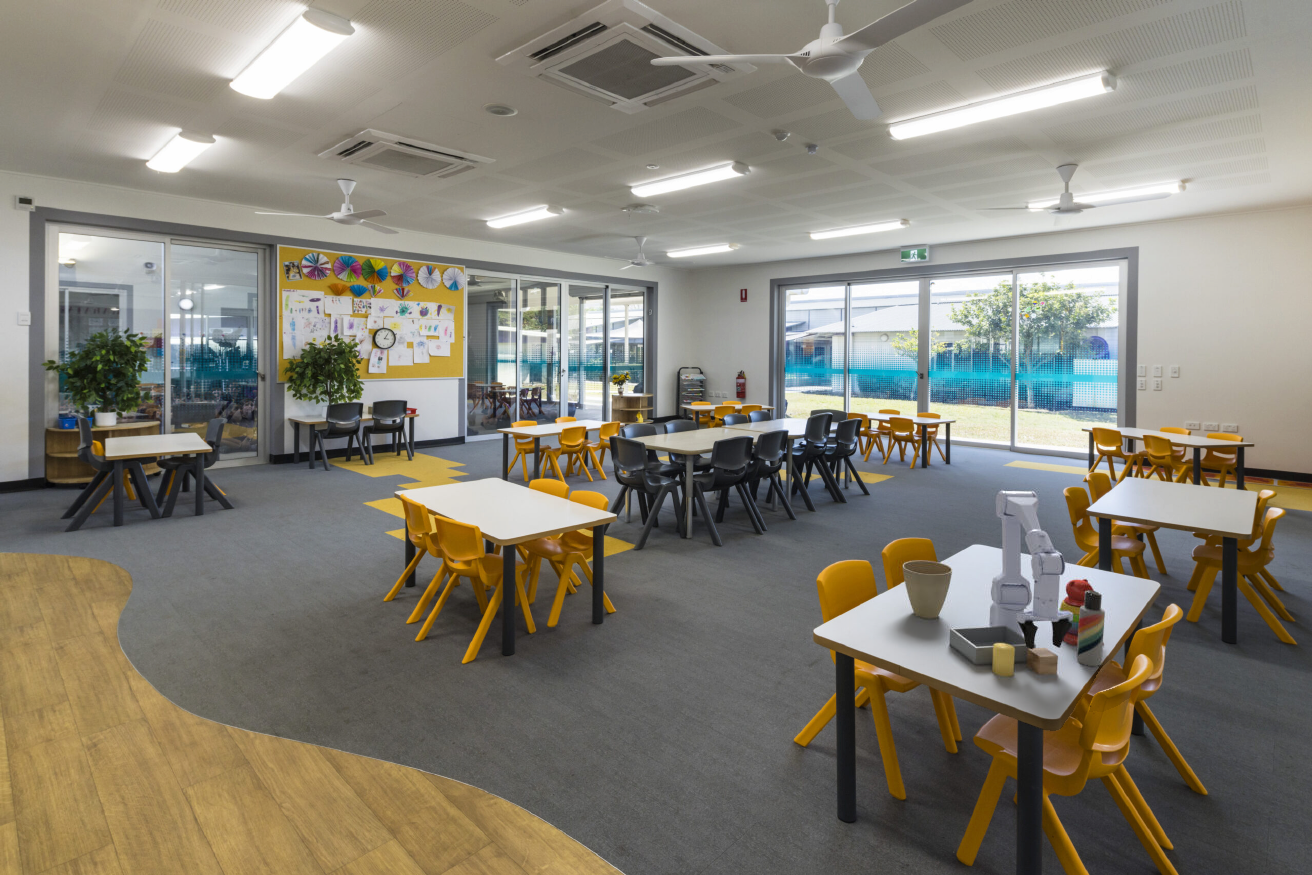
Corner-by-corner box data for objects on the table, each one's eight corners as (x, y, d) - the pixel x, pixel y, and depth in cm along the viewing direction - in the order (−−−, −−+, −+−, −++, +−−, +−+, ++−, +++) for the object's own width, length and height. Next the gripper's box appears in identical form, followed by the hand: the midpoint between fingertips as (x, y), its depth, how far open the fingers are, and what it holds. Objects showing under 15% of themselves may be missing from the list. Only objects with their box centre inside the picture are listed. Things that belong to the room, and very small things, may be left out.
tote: (975, 665, 181) (975, 647, 181) (949, 644, 194) (950, 628, 194) (1034, 661, 183) (1035, 644, 182) (1005, 641, 196) (1006, 625, 195)
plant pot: (920, 602, 227) (922, 557, 226) (960, 617, 215) (962, 569, 213) (891, 611, 220) (892, 565, 218) (930, 627, 207) (932, 577, 205)
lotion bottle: (1073, 656, 186) (1078, 587, 184) (1097, 658, 184) (1102, 589, 182) (1080, 665, 180) (1084, 594, 178) (1104, 668, 179) (1109, 596, 176)
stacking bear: (1073, 646, 192) (1077, 587, 190) (1047, 632, 202) (1051, 575, 200) (1106, 643, 194) (1111, 584, 192) (1079, 630, 204) (1083, 573, 202)
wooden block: (1026, 666, 181) (1027, 648, 180) (1044, 665, 181) (1045, 647, 181) (1039, 674, 176) (1040, 656, 175) (1056, 673, 176) (1058, 655, 176)
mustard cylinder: (988, 668, 180) (989, 643, 179) (1005, 667, 180) (1007, 642, 179) (999, 676, 175) (1000, 651, 174) (1017, 675, 175) (1018, 650, 174)
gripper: (1029, 604, 171) (1027, 654, 173) (1082, 601, 173) (1079, 651, 174) (1012, 594, 178) (1010, 643, 180) (1063, 592, 180) (1060, 640, 181)
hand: (1043, 646), depth 178 cm, fingers open, 7 cm apart
